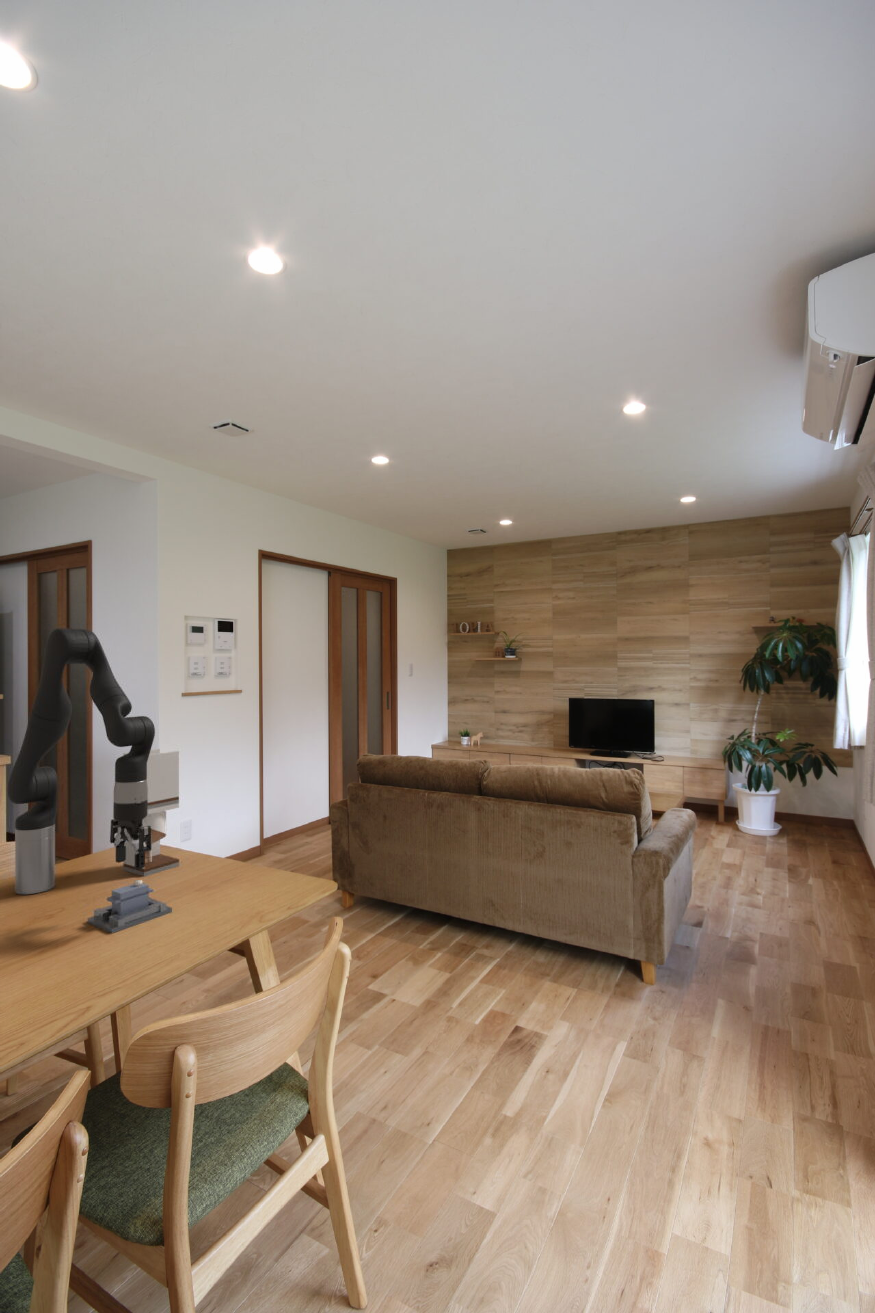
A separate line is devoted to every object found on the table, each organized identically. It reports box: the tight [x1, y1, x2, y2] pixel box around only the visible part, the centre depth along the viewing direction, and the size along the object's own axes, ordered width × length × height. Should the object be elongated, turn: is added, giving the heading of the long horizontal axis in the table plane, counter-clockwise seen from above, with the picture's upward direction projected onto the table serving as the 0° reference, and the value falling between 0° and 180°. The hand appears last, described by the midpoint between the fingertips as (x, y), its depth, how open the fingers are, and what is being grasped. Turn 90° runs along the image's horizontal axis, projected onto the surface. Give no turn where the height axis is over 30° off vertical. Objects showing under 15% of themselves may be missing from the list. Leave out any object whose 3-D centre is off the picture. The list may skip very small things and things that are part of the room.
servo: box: [106, 879, 154, 916], centre depth 153 cm, size 10×4×7 cm, turn 145°
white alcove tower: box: [122, 748, 180, 877], centre depth 191 cm, size 11×11×35 cm
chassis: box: [87, 897, 173, 934], centre depth 153 cm, size 15×11×2 cm
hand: (130, 865), depth 153 cm, fingers open, 8 cm apart
